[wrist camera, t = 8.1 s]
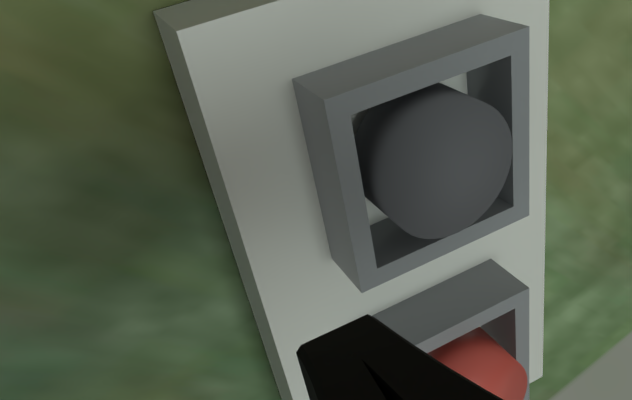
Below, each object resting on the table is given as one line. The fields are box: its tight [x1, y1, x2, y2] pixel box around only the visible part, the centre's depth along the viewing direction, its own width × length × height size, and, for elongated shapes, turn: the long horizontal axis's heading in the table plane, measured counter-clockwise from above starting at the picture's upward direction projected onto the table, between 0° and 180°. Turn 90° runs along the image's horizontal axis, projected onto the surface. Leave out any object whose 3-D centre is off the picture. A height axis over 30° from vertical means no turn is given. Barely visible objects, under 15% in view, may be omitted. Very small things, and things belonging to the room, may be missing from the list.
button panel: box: [153, 0, 549, 400], centre depth 20 cm, size 11×19×5 cm, turn 12°
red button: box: [427, 327, 528, 400], centre depth 21 cm, size 4×4×2 cm
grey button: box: [354, 82, 512, 239], centre depth 17 cm, size 4×4×2 cm
